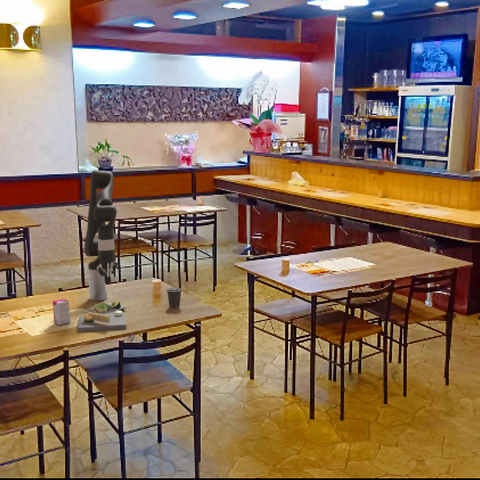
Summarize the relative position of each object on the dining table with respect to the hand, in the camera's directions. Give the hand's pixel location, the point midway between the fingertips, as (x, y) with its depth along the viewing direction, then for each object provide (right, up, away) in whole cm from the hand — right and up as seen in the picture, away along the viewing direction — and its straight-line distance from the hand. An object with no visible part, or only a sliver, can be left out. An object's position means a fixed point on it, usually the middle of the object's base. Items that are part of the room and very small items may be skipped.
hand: (107, 283), depth 290 cm
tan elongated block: (-5, -18, +1) cm, 19 cm away
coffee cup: (+28, -15, +32) cm, 45 cm away
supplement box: (-23, -20, +6) cm, 31 cm away
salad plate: (-6, -16, +26) cm, 31 cm away
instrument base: (-4, -20, +5) cm, 21 cm away
